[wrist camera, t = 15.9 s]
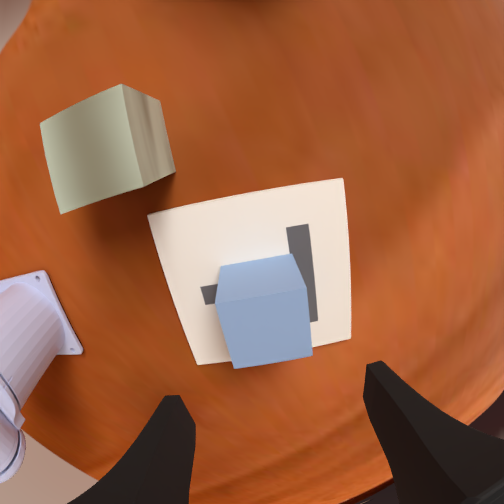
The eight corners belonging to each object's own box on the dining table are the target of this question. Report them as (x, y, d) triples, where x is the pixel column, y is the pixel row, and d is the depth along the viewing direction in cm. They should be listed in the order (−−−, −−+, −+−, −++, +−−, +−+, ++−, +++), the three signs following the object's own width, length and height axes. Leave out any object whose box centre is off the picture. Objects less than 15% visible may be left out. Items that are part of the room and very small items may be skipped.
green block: (111, 190, 17) (60, 214, 11) (95, 125, 15) (39, 123, 9) (175, 171, 16) (143, 186, 11) (160, 101, 15) (121, 83, 9)
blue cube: (235, 324, 20) (234, 368, 16) (220, 266, 18) (214, 303, 14) (299, 313, 20) (312, 355, 15) (292, 253, 18) (306, 287, 14)
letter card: (198, 361, 22) (197, 365, 21) (149, 213, 17) (147, 215, 17) (349, 335, 21) (350, 338, 21) (341, 178, 17) (343, 178, 16)
